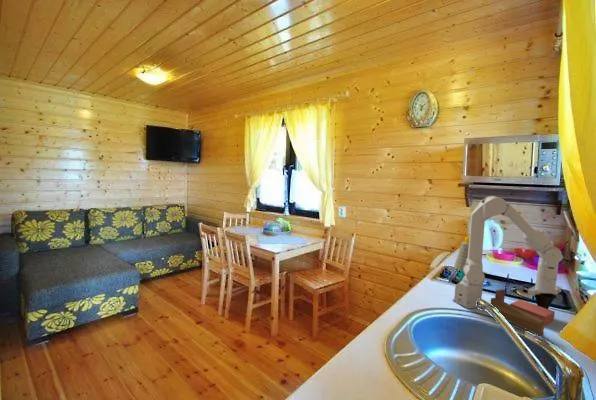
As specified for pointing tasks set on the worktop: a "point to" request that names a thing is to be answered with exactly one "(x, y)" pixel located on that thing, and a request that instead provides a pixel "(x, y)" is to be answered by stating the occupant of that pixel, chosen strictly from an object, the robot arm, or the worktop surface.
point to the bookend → (500, 294)
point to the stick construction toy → (459, 275)
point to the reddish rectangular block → (535, 311)
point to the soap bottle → (462, 255)
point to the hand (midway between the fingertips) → (542, 311)
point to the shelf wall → (519, 316)
